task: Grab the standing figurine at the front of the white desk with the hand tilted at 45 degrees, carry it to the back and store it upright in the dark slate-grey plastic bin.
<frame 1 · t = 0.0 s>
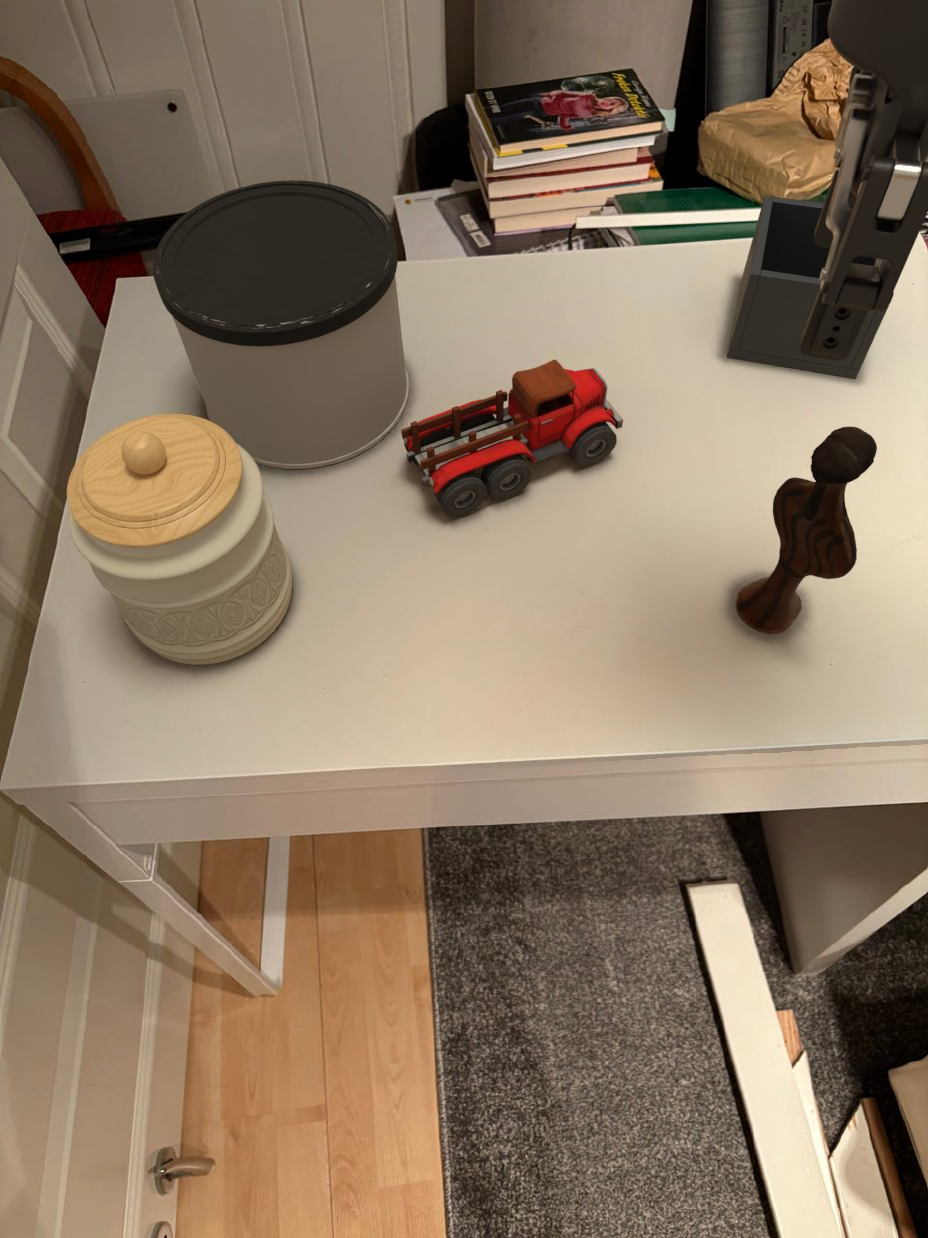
hand: (828, 296, 44), 28 cm above the table, tool pointing down, fingers open, 8 cm apart
figurine: (771, 611, 67), on the table
toy truck: (511, 459, 76), on the table
jar: (214, 598, 69), on the table
bin: (795, 326, 84), on the table
container: (309, 395, 81), on the table
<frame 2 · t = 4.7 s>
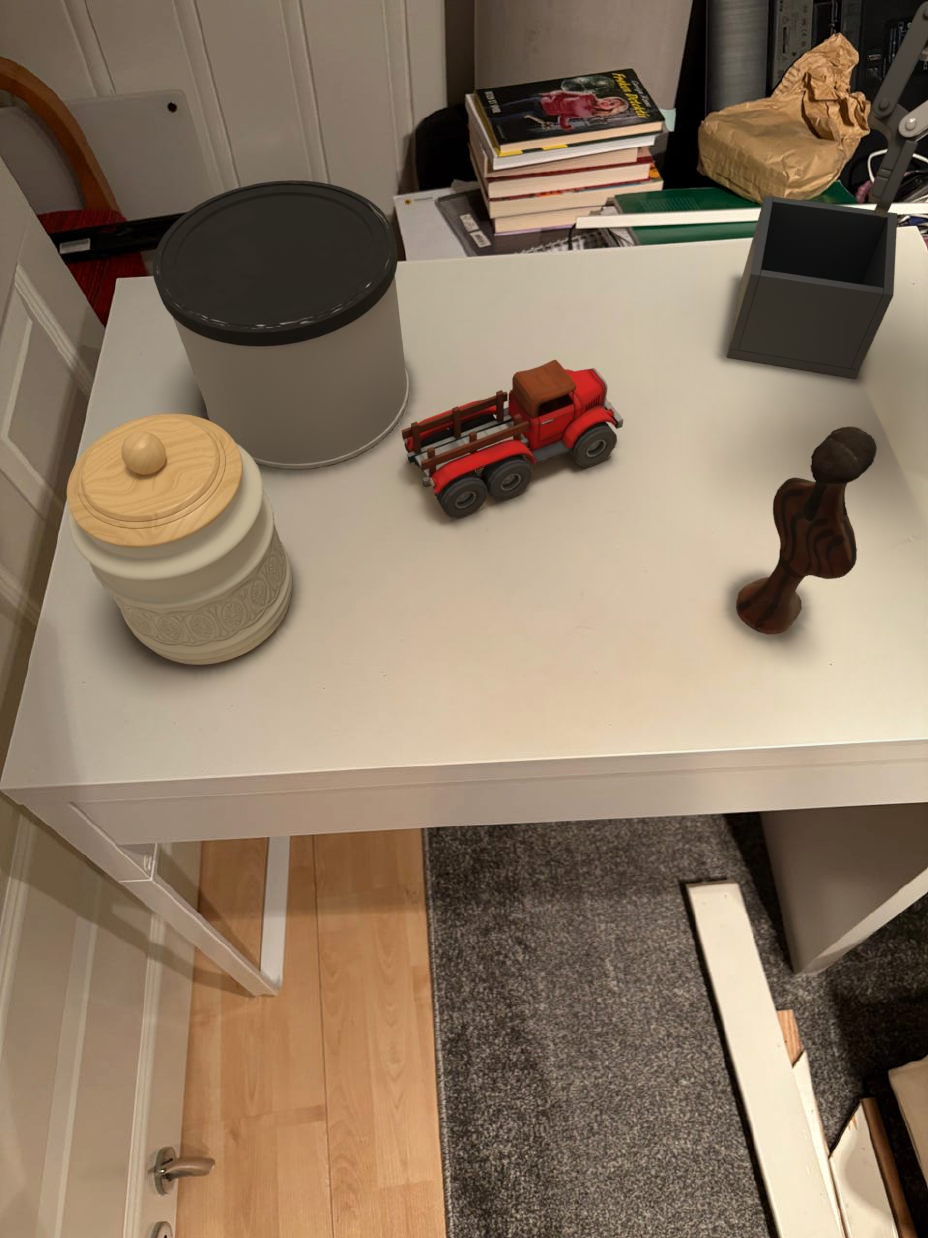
nothing on the table moved.
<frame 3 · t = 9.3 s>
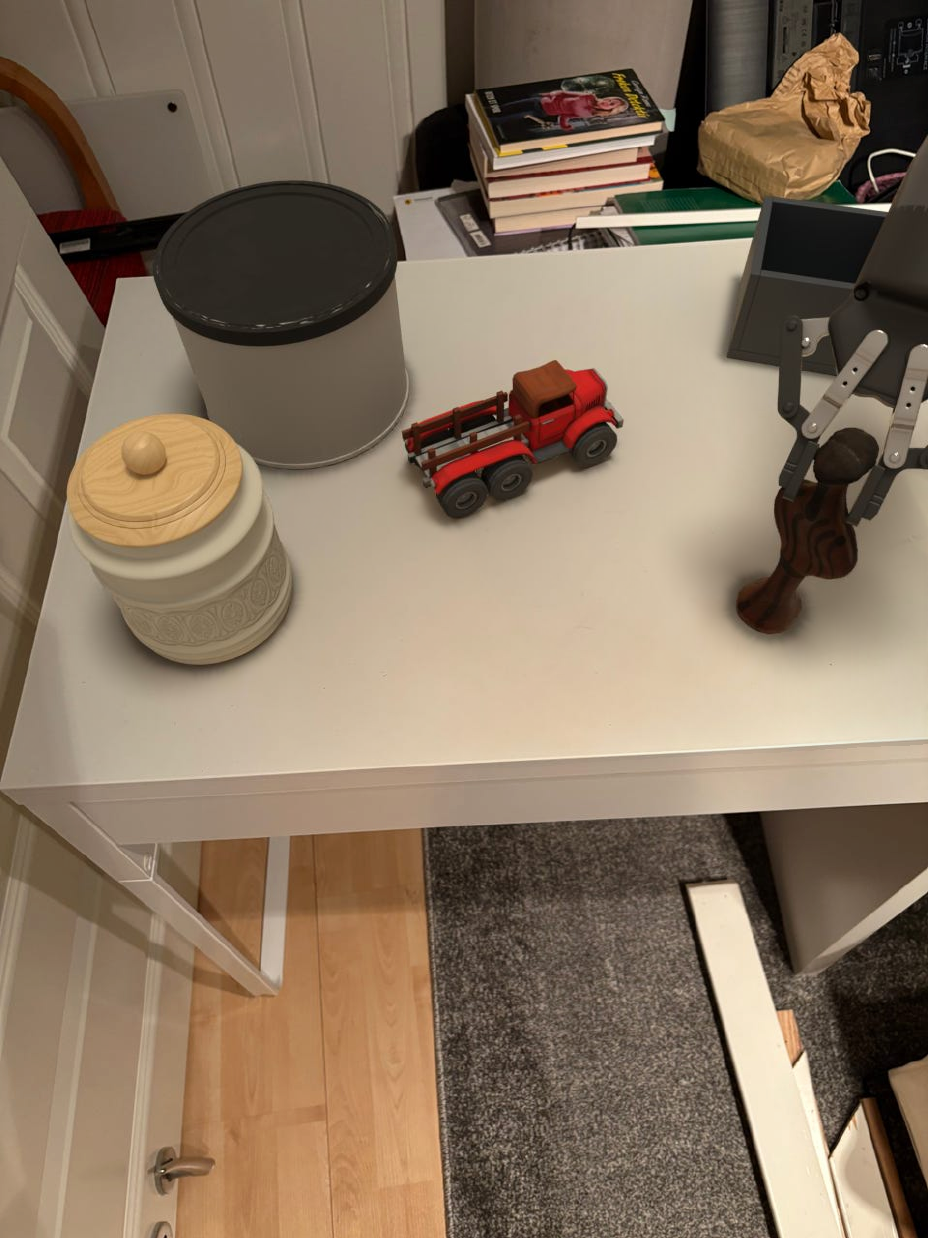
hand: (820, 510, 54), 14 cm above the table, tool tilted 45°, fingers closed on figurine, 3 cm apart
figurine: (771, 611, 67), on the table, touching gripper
everything else where it was.
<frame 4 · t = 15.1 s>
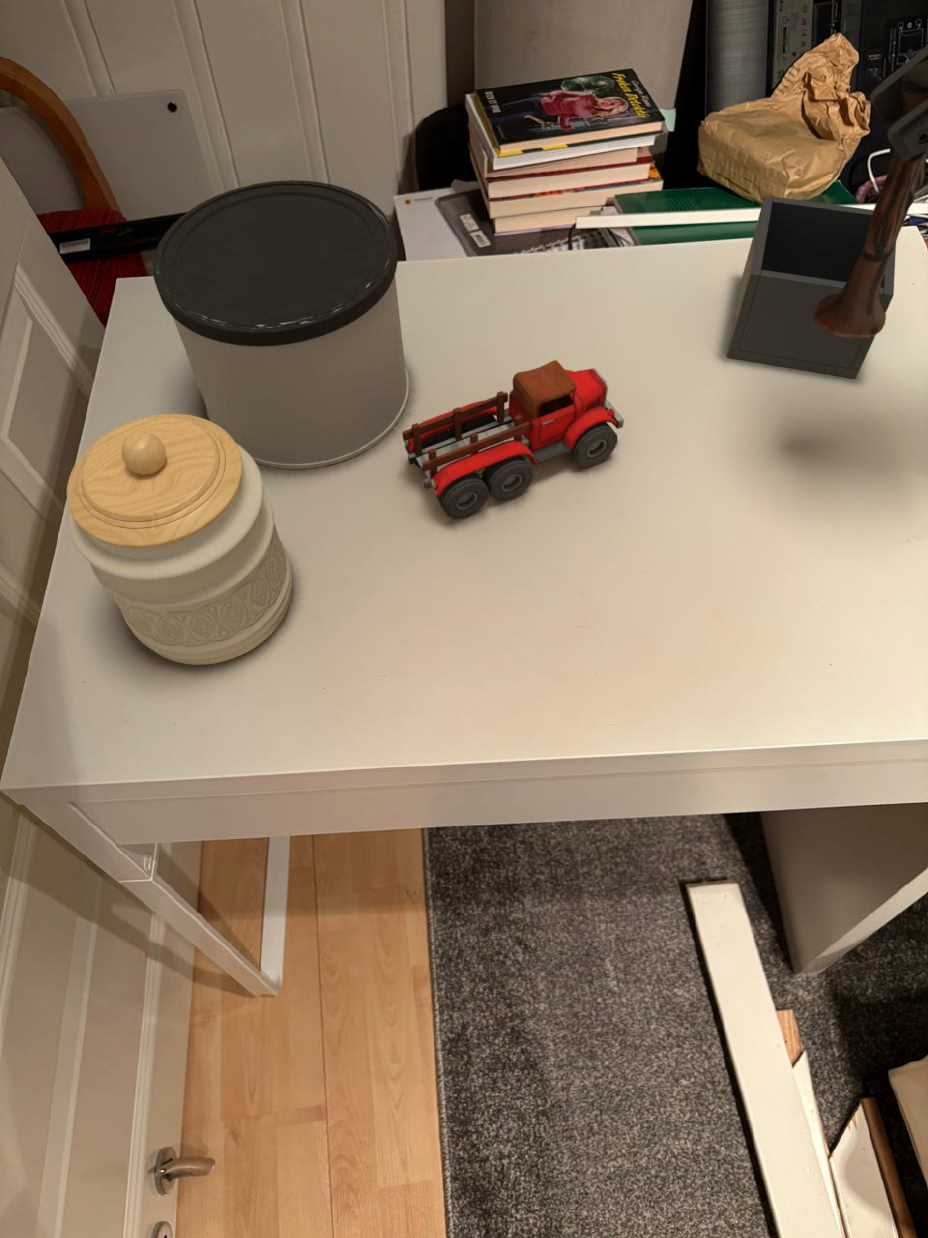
hand: (887, 127, 53), 27 cm above the table, tool tilted 45°, fingers closed on figurine, 3 cm apart
figurine: (845, 323, 65), point 13 cm above the table, touching gripper
everything else where it was.
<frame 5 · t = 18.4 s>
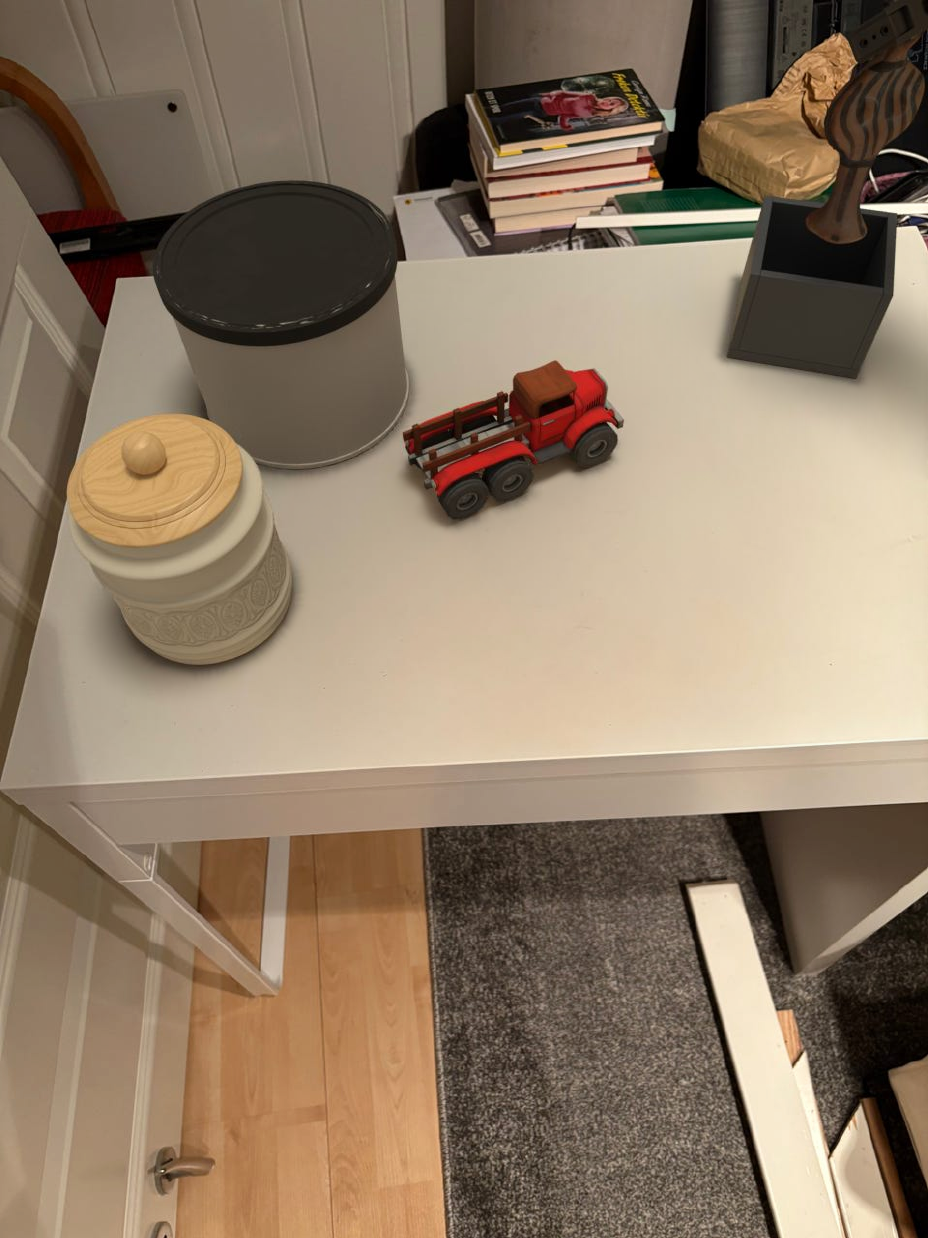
hand: (870, 37, 64), 25 cm above the table, tool tilted 45°, fingers closed on figurine, 3 cm apart
figurine: (829, 229, 75), point 11 cm above the table, touching gripper
everything else where it was.
when the fingers open (15 cm above the table, at t = 21.2 s): figurine stays where it is, resting on bin.
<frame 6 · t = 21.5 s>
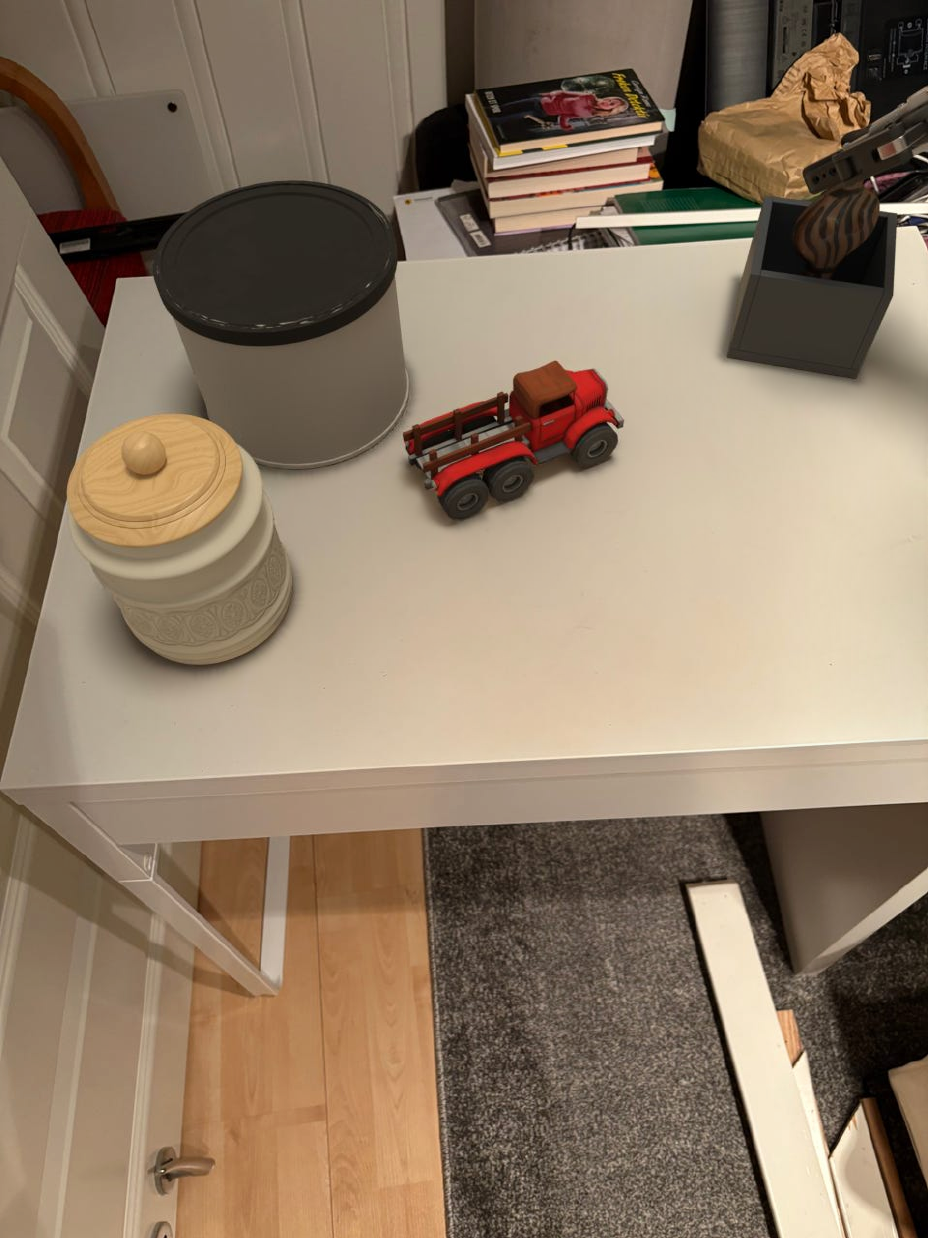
hand: (832, 163, 72), 15 cm above the table, tool tilted 45°, fingers open, 6 cm apart
figurine: (798, 321, 83), point 1 cm above the table, touching bin
everything else where it was.
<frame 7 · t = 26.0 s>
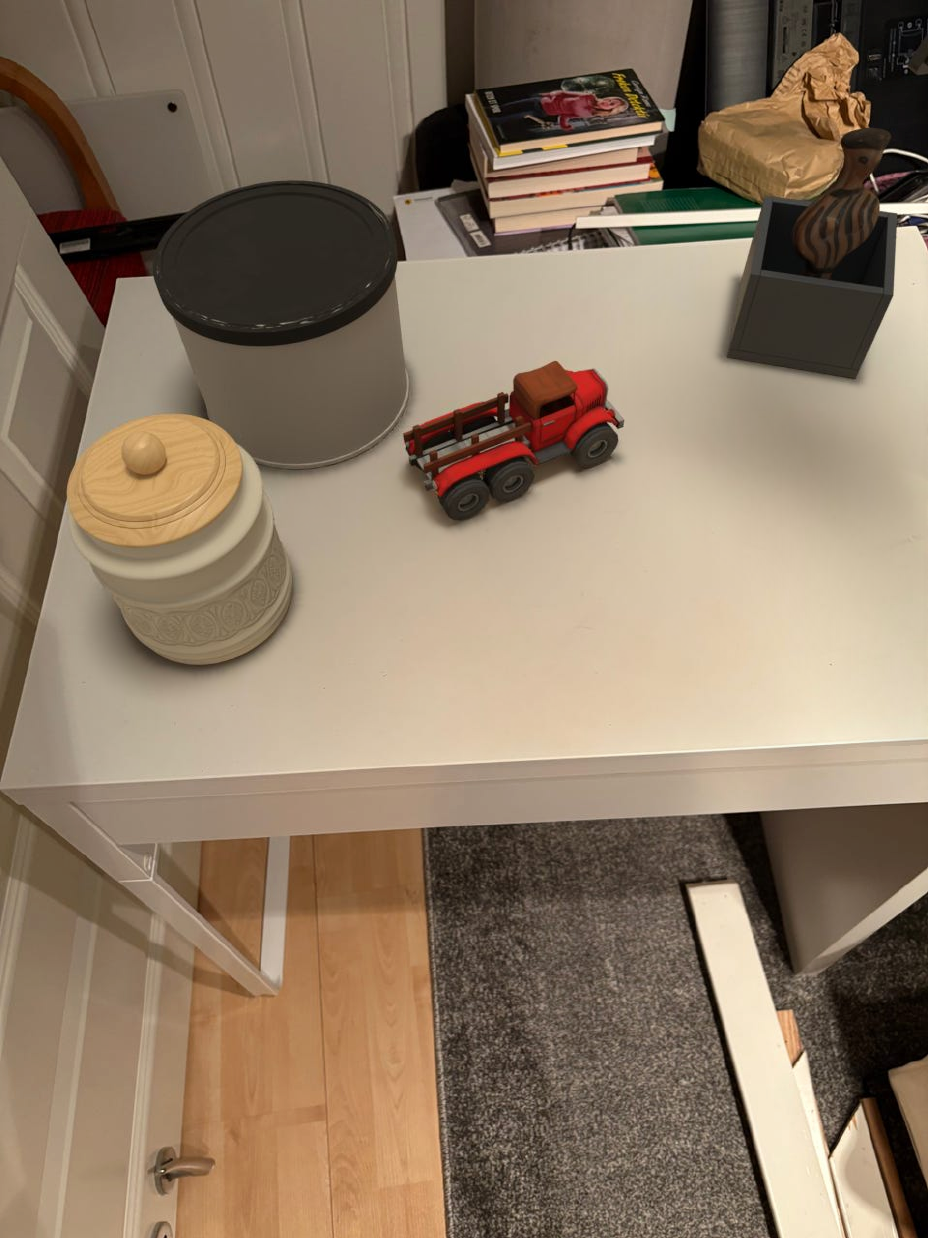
hand: (864, 24, 49), 32 cm above the table, tool tilted 20°, fingers open, 8 cm apart
nothing on the table moved.
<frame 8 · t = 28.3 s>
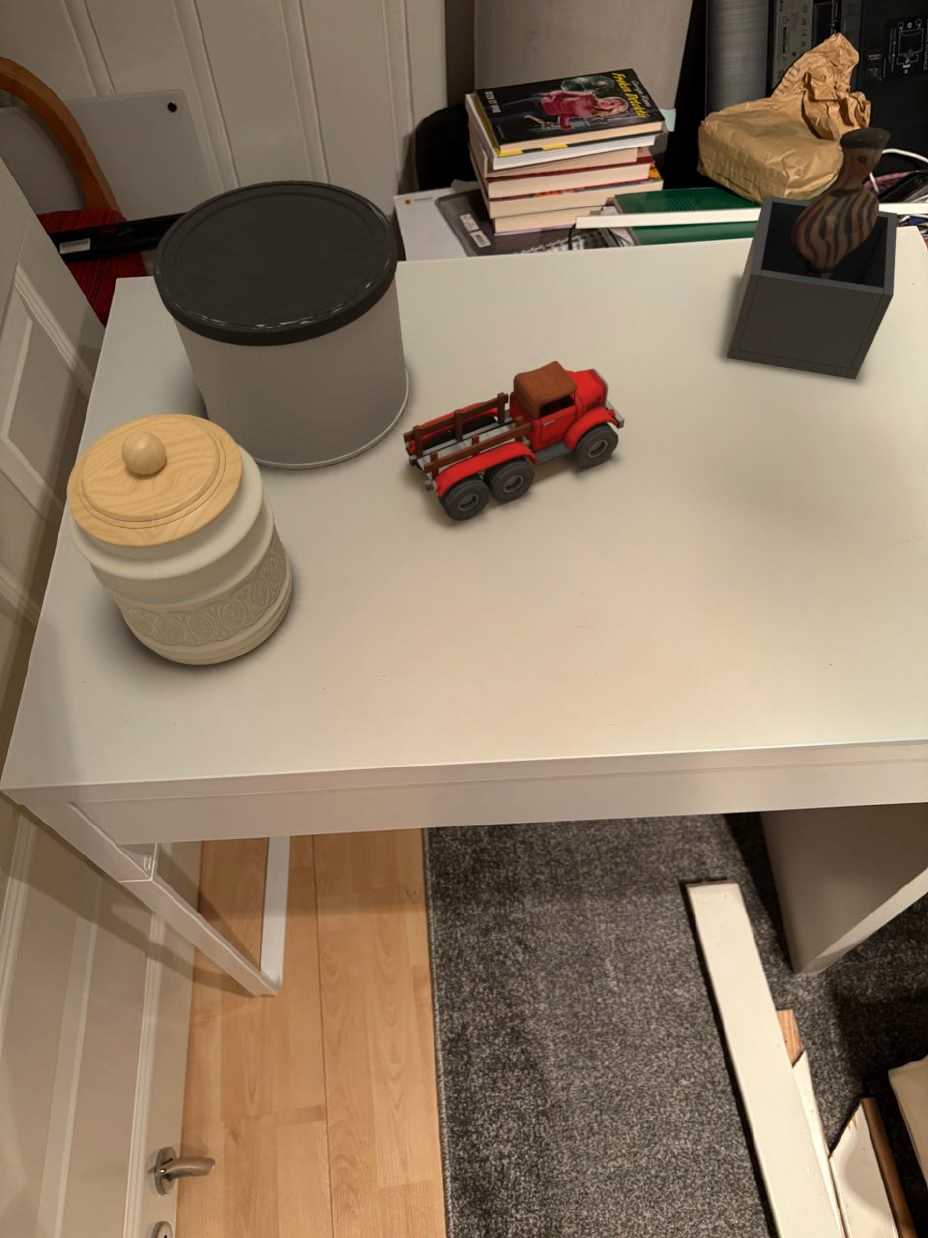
nothing on the table moved.
at the end: figurine inside the target area in the bin (0.3 cm from its centre), point 0.8 cm above the bin's base; figurine tilted 0°; the gripper is holding nothing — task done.
